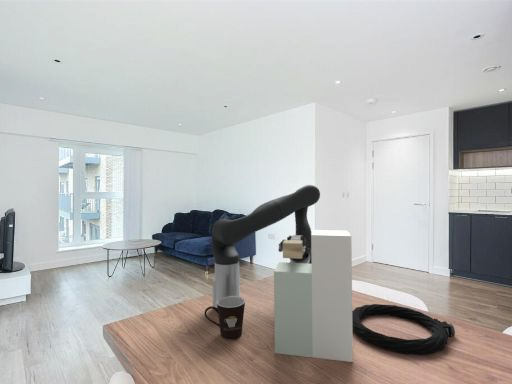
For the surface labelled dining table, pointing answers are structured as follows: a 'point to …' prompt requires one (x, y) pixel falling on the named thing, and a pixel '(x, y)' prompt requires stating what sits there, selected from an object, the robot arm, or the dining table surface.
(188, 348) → the dining table surface
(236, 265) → the robot arm
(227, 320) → the coffee mug
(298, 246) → the block
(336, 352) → the riser
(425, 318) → the cable lock
